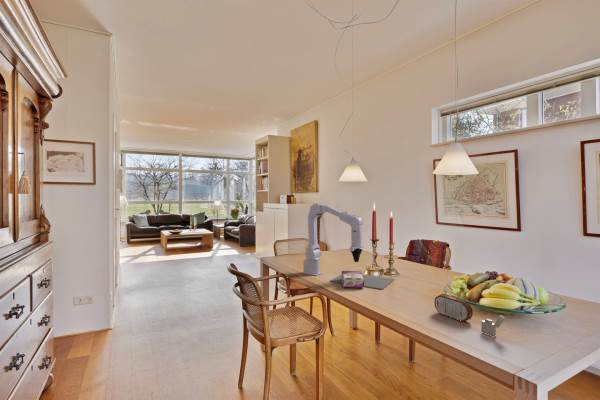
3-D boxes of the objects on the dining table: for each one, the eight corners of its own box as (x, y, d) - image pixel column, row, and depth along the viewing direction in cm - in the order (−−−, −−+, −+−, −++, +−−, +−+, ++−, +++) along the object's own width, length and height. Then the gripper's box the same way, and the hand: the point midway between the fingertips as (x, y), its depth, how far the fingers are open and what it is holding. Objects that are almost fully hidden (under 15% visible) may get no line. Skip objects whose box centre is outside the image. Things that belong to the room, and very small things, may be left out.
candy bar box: (341, 279, 183) (342, 287, 167) (341, 270, 183) (342, 277, 167) (361, 279, 182) (364, 288, 166) (361, 270, 182) (364, 278, 166)
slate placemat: (330, 281, 180) (330, 280, 180) (346, 273, 199) (346, 272, 199) (382, 289, 164) (382, 288, 164) (394, 279, 183) (394, 278, 183)
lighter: (481, 333, 113) (481, 310, 113) (483, 331, 114) (483, 309, 114) (502, 340, 107) (502, 317, 107) (505, 339, 108) (505, 316, 108)
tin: (473, 323, 121) (473, 301, 121) (468, 325, 120) (468, 302, 120) (437, 311, 134) (437, 291, 134) (433, 312, 133) (433, 292, 132)
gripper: (358, 240, 175) (358, 265, 175) (367, 237, 187) (367, 260, 187) (346, 239, 178) (346, 263, 179) (356, 236, 191) (356, 259, 191)
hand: (356, 261), depth 183 cm, fingers closed
